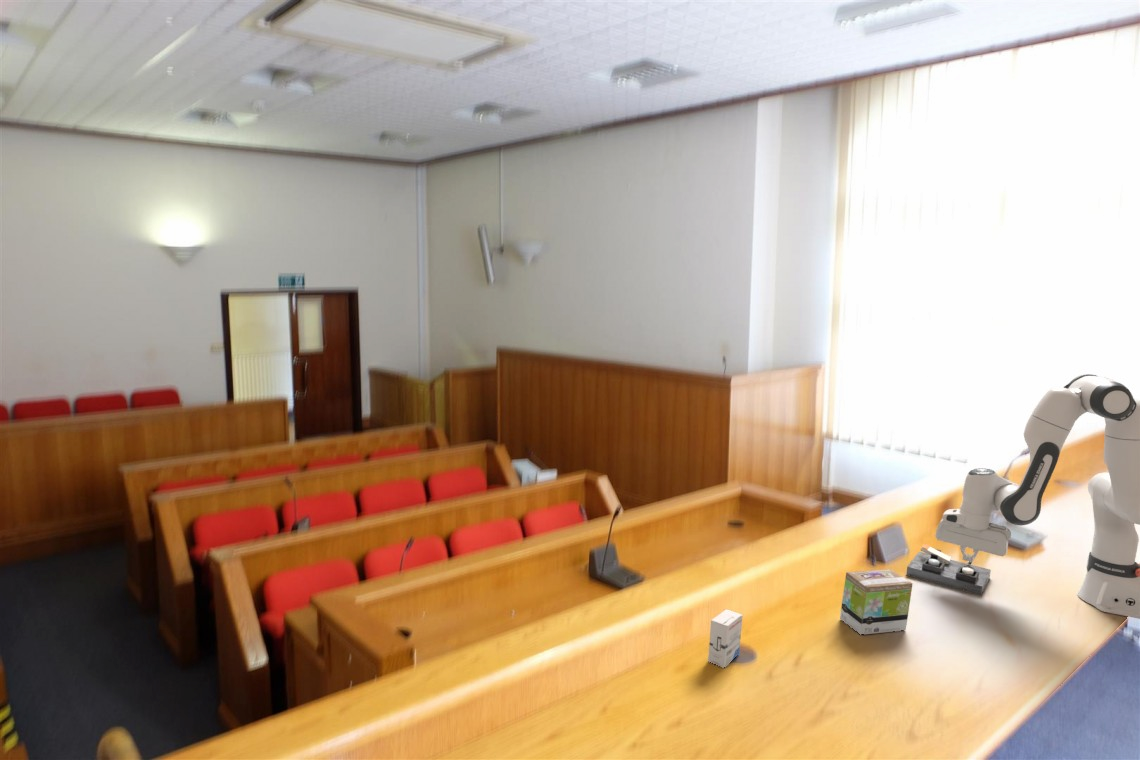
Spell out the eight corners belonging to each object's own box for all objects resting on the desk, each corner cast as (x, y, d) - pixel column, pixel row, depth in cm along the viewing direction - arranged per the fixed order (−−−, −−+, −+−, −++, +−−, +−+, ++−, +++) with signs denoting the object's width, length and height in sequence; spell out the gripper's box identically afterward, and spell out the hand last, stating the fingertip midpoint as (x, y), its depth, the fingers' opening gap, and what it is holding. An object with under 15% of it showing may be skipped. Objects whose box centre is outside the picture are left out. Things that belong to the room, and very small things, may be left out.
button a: (974, 572, 243) (974, 569, 243) (972, 576, 240) (972, 572, 240) (963, 570, 245) (963, 566, 244) (961, 573, 242) (961, 569, 242)
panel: (989, 578, 250) (991, 561, 249) (981, 595, 237) (983, 578, 236) (917, 559, 263) (919, 543, 262) (906, 575, 250) (908, 558, 249)
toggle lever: (969, 566, 250) (977, 554, 248) (969, 567, 249) (977, 555, 247) (966, 564, 250) (974, 552, 248) (965, 565, 249) (973, 553, 248)
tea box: (861, 637, 209) (866, 586, 207) (839, 619, 219) (844, 571, 216) (907, 631, 213) (913, 582, 211) (883, 614, 223) (889, 566, 220)
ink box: (722, 648, 201) (726, 607, 199) (740, 655, 198) (743, 613, 196) (706, 662, 194) (709, 619, 192) (724, 669, 191) (727, 626, 189)
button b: (940, 564, 249) (940, 560, 248) (937, 567, 246) (938, 563, 246) (929, 561, 250) (929, 558, 250) (927, 564, 248) (927, 561, 248)
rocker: (948, 563, 255) (951, 556, 254) (946, 566, 252) (949, 560, 251) (921, 549, 259) (924, 543, 259) (919, 553, 256) (922, 546, 256)
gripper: (1013, 525, 236) (1006, 567, 238) (941, 508, 247) (935, 548, 250) (1010, 530, 231) (1003, 573, 233) (937, 513, 242) (931, 554, 245)
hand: (967, 560), depth 242 cm, fingers closed
